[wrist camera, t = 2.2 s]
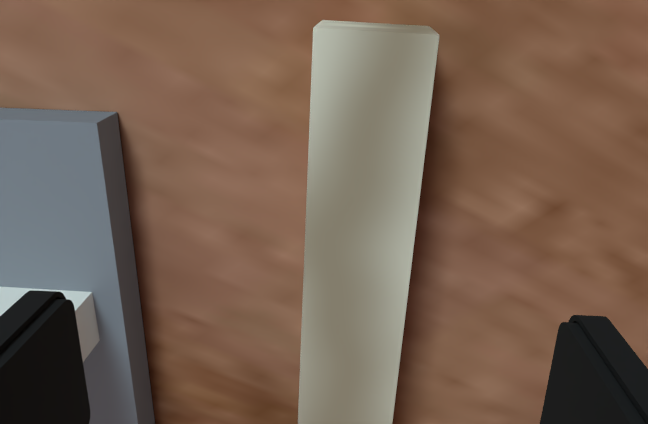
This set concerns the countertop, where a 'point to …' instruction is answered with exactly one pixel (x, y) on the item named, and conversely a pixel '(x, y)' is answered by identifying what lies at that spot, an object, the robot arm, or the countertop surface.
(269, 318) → the countertop surface
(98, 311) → the stand
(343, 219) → the birch beam
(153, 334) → the countertop surface
